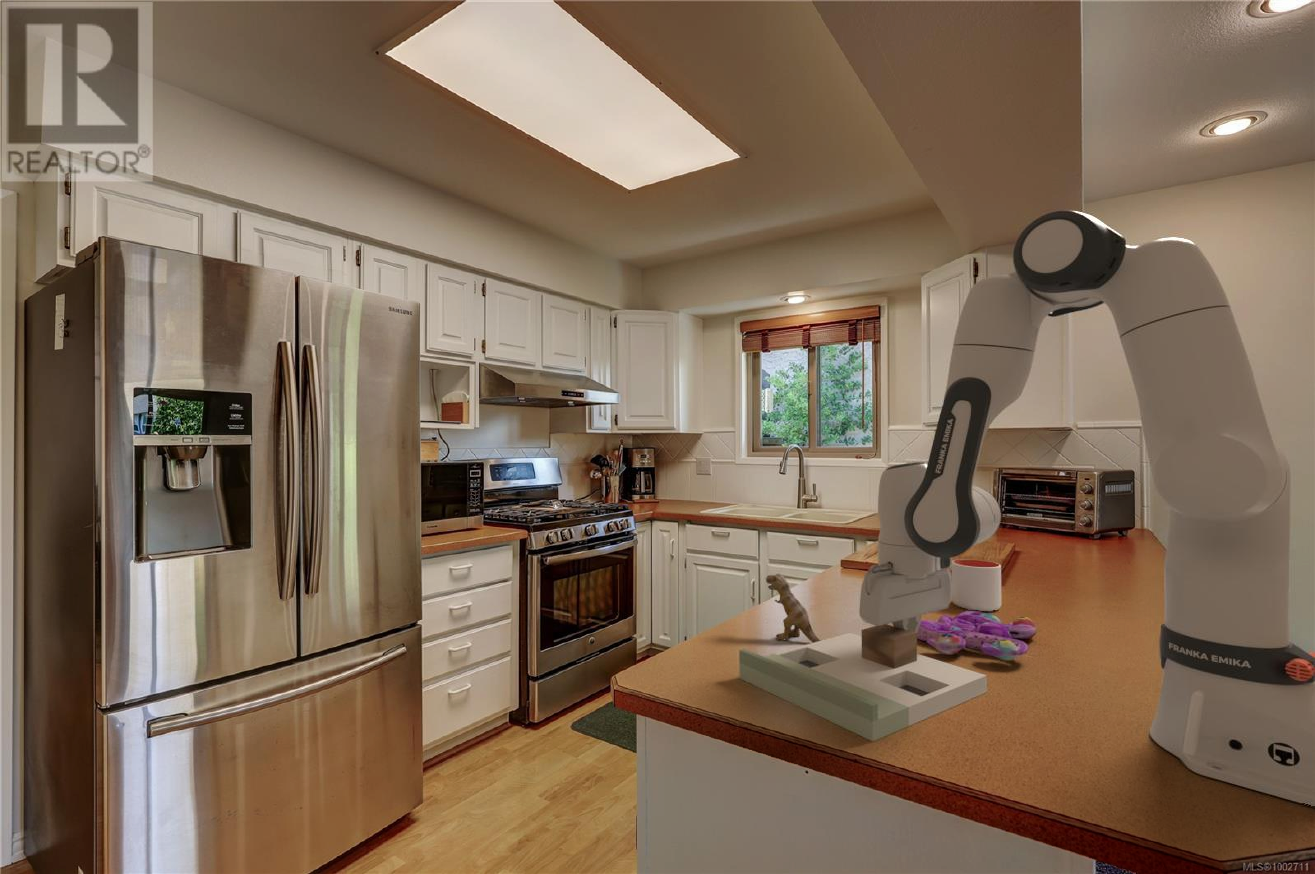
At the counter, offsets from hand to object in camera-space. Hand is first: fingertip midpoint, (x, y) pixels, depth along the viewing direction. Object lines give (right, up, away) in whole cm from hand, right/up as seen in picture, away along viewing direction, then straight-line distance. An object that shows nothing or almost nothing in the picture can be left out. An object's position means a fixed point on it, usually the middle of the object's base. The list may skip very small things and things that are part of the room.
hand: (906, 642), depth 101 cm
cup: (+31, -5, +38) cm, 49 cm away
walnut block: (-4, -2, -3) cm, 5 cm away
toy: (-14, -5, +15) cm, 21 cm away
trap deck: (-10, -4, -7) cm, 13 cm away
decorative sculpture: (+19, -5, +13) cm, 23 cm away
